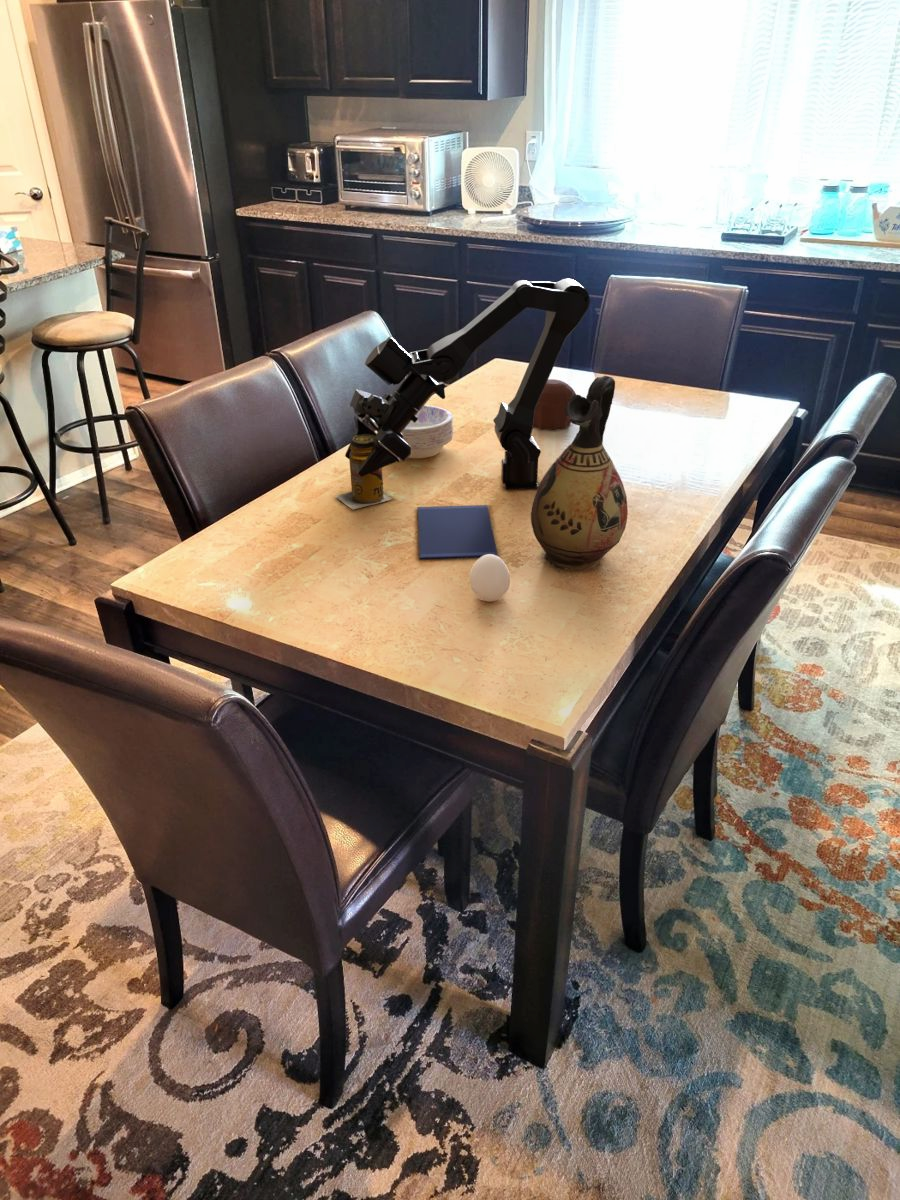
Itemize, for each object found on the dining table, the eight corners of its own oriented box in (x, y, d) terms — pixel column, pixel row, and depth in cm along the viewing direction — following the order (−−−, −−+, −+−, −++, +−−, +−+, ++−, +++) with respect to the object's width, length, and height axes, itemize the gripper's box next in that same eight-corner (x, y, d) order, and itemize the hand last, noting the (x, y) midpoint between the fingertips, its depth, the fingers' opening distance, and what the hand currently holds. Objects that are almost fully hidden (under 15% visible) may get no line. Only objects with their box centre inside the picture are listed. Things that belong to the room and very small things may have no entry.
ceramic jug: (600, 590, 133) (617, 402, 117) (513, 565, 140) (518, 386, 124) (640, 546, 145) (660, 372, 129) (558, 526, 152) (568, 358, 137)
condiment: (392, 499, 163) (389, 440, 156) (352, 510, 159) (348, 449, 152) (373, 487, 168) (370, 428, 162) (335, 497, 164) (330, 438, 158)
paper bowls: (371, 458, 181) (368, 422, 177) (401, 435, 193) (399, 401, 189) (437, 468, 176) (436, 431, 172) (463, 443, 188) (463, 408, 184)
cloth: (487, 506, 159) (487, 504, 159) (497, 557, 142) (497, 555, 142) (417, 509, 159) (417, 507, 159) (419, 559, 142) (419, 557, 142)
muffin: (583, 421, 199) (586, 379, 194) (562, 435, 191) (565, 392, 186) (538, 413, 205) (540, 371, 200) (516, 426, 197) (517, 383, 192)
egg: (474, 611, 128) (474, 567, 124) (465, 591, 133) (465, 548, 129) (513, 607, 129) (515, 563, 125) (503, 587, 134) (504, 544, 130)
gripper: (361, 361, 160) (309, 425, 162) (390, 388, 145) (333, 459, 147) (403, 397, 166) (352, 458, 169) (435, 427, 151) (379, 493, 154)
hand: (353, 466), depth 159 cm, fingers open, 9 cm apart
